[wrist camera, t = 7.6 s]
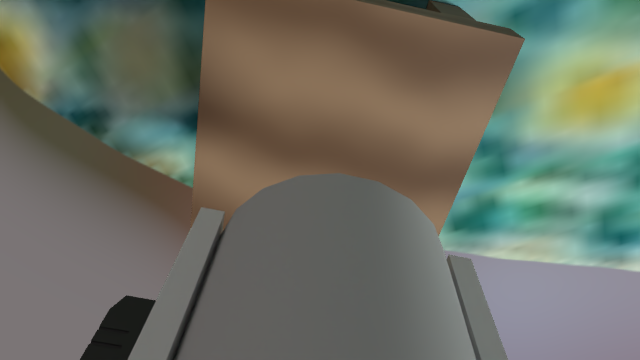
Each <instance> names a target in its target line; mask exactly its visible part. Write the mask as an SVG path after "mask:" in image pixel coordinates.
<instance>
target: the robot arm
mask: <svg viewBox="0 0 640 360" xmlns="http://www.w3.org/2000/svg"><path fill="white" fill-rule="evenodd" d="M224 215H225V212H224V211H219V210H214V209H209V208H203V207H201V209H200V211H199V213H198V215H197V217H196V219H195V221H194V223H193V225H192V227H191V230H190V232H189V234H188V236H187V238H186V240H185V242H184V244H183V246H182V248H181V250H180V253H179V254H178V257H177V259H176V261H175V263H174V265H173V267H172V269H171V271H170V273H169V275H168V277H167V279H166V281H165V283H164V285H163V287H162V290H161V292H160V294H159V296H158V298H157V300H156V301H155V300H149V299H143V298H137V297H132V296H125V297H124V298H123V299H121V300H120V301H119V302H118V303H117V304H115V305H114V306H113V307H112V308H110V310H109V311H108V313H107V315H106V316H105V318H104V320H103V321H102V323H101V325H100V327H99V330H97V332H96V333H95V335H94V337H93V338H92V340H91V343H90V344H89V345H88V347H87V348H86V350H85V352H84V354H83V355H82V357H81V359H80V360H173V359H174V356H175V353H176V351H177V348H178V346H179V343H180V340H181V338H182V335H183V333H184V330H185V327H186V325H187V322H188V319H189V317H190V314H191V312H192V309H193V306H194V304H195V301H196V298H197V296H198V293H199V291H200V288H201V285H202V283H203V280H204V278H205V275H206V272H207V270H208V267H209V264H210V262H211V259H212V257H213V254H214V251H215V249H216V246H217V244H218V241H219V238H220V236H221V234H222V232H223V224H224ZM447 263H448V266H449V269H450V273H451V276H452V279H453V283H454V286H455V290H456V293H457V296H458V300H459V303H460V306H461V310H462V313H463V316H464V320H465V323H466V326H467V330H468V333H469V337H470V340H471V343H472V347H473V350H474V353H475V357H476V360H508V358H507V356H506V353H505V350H504V348H503V345H502V342H501V339H500V337H499V334H498V331H497V328H496V326H495V323H494V320H493V318H492V315H491V313H490V309H489V307H488V304H487V301H486V299H485V296H484V293H483V291H482V288H481V285H480V282H479V280H478V277H477V274H476V272H475V269H474V266H473V263H472V261H471V259H468V258H463V257H458V256H453V255H449V256H448V258H447Z"/></svg>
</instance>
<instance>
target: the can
mask: <svg viewBox="0 0 640 360" xmlns="http://www.w3.org/2000/svg"><path fill="white" fill-rule="evenodd" d="M173 360H476V357H475V353H474V350H473V347H472V343H471V340H470V337H469V333H468V330H467V326H466V323H465V320H464V316H463V313H462V310H461V306H460V303H459V300H458V296H457V293H456V290H455V286H454V283H453V279H452V276H451V273H450V269H449V266H448V263H447V259H446V256H445V253H444V250H443V247H442V244H441V242H440V239H439V236H438V234H437V231H436V228H435V226H434V224H433V223H432V222H431V221H430V219H429V218H428V217H427V216H426V215H425V214H424V213H423V212H422V211H421V210H420V209H419V207H418V206H417V205H416V204H415V203H414V202H413V201H412V200H411V199H409V198H407V197H406V196H404V195H402V194H400V193H398V192H397V191H395V190H393V189H391V188H389V187H387V186H386V185H384V184H382V183H380V182H378V181H373V180H369V179H364V178H359V177H355V176H350V175H345V174H341V173H333V174H317V175H300V176H296V177H293V178H291V179H288V180H285V181H282V182H279V183H277V184H274V185H271V186H268V187H265V188H263V189H262V190H260V191H259V192H258V193H256V194H255V195H254V196H253V197H251V198H250V199H249V200H247V201H246V202H245V203H244V204H242V205H241V206H240V207H238V208H237V209H236V210H235V212H234V214H233V215H232V217H231V219H230V220H229V222H228V224H227V225H226V227H225V229H224V230H223V232H222V234H221V236H220V238H219V241H218V244H217V246H216V249H215V251H214V254H213V257H212V259H211V262H210V264H209V267H208V270H207V272H206V275H205V278H204V280H203V283H202V285H201V288H200V291H199V293H198V296H197V298H196V301H195V304H194V306H193V309H192V312H191V314H190V317H189V319H188V322H187V325H186V327H185V330H184V333H183V335H182V338H181V340H180V343H179V346H178V348H177V351H176V353H175V356H174V359H173Z"/></svg>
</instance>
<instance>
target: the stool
mask: <svg viewBox="0 0 640 360" xmlns="http://www.w3.org/2000/svg"><path fill="white" fill-rule="evenodd" d="M524 40H525V39H524V38H523V37H521V36H520V35H519V34H517V33H516V32H514V31H513V30H511V29H509V28H505V27H500V26H496V25H492V24H487V23H483V22H478V21H476V20H475V19H473V18H472V17H471V16H470V15H468V14H467V13H466V12H465V11H464V10H462V9H461V8H460V7H457V6H453V5H449V4H444V3H440V2H436V1H431V0H429V2H428V5H427V8H426V9H422V8H417V7H413V6H408V5H404V4H400V3H395V2H391V1H387V0H205V15H204V30H203V45H202V61H201V76H200V91H199V106H198V121H197V136H196V152H195V167H194V182H193V197H192V212H191V227H192V225H193V223H194V221H195V219H196V217H197V215H198V213H199V211H200V209H201V207H203V208H209V209H214V210H219V211H224V212H225V215H224V224H223V230H224V229H225V227H226V225H227V224H228V222H229V220H230V219H231V217H232V215H233V214H234V212H235V210H236V209H237V208H238V207H240V206H241V205H242V204H244V203H245V202H246V201H247V200H249V199H250V198H251V197H253V196H254V195H255V194H256V193H258V192H259V191H260V190H262V189H263V188H265V187H268V186H271V185H274V184H277V183H279V182H282V181H285V180H288V179H291V178H293V177H296V176H300V175H317V174H333V173H341V174H345V175H350V176H355V177H359V178H364V179H369V180H373V181H378V182H380V183H382V184H384V185H386V186H387V187H389V188H391V189H393V190H395V191H397V192H398V193H400V194H402V195H404V196H406V197H407V198H409V199H411V200H412V201H413V202H414V203H415V204H416V205H417V206H418V207H419V209H420V210H421V211H422V212H423V213H424V214H425V215H426V216H427V217H428V218H429V219H430V221H431V222H432V223H433V224H434V226H435V228H436V231H437V234H438V236H439V234H440V232H441V229H442V227H443V225H444V223H445V220H446V218H447V216H448V213H449V211H450V209H451V207H452V204H453V202H454V200H455V197H456V195H457V193H458V191H459V188H460V186H461V184H462V181H463V179H464V177H465V175H466V172H467V170H468V168H469V165H470V163H471V161H472V159H473V156H474V154H475V152H476V150H477V147H478V145H479V143H480V140H481V138H482V136H483V134H484V131H485V129H486V127H487V124H488V122H489V120H490V118H491V115H492V113H493V111H494V108H495V106H496V104H497V102H498V99H499V97H500V95H501V92H502V90H503V88H504V86H505V83H506V81H507V79H508V76H509V74H510V72H511V70H512V67H513V65H514V63H515V61H516V58H517V56H518V54H519V51H520V49H521V47H522V45H523V42H524Z"/></svg>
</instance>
